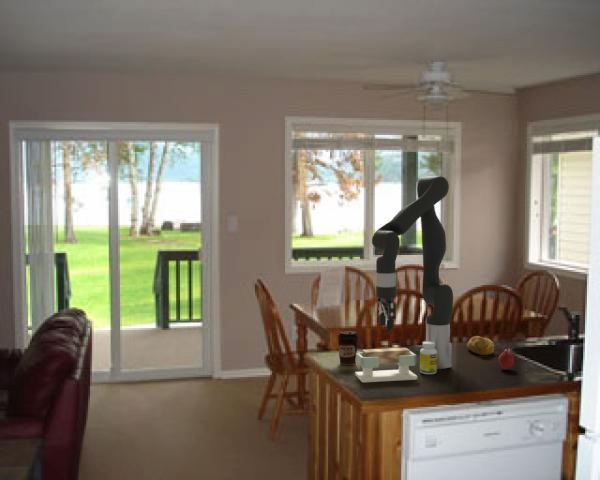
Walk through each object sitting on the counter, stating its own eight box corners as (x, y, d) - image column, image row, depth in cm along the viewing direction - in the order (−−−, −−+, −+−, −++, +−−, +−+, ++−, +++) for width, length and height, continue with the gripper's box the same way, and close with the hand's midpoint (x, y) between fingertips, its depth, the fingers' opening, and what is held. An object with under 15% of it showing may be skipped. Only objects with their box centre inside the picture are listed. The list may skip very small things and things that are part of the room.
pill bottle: (426, 375, 244) (427, 345, 244) (416, 371, 250) (416, 341, 249) (440, 373, 247) (440, 343, 247) (429, 369, 253) (430, 340, 252)
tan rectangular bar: (405, 359, 246) (405, 347, 245) (409, 362, 242) (409, 350, 241) (362, 361, 243) (362, 349, 242) (365, 364, 239) (365, 352, 238)
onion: (514, 368, 254) (514, 348, 253) (512, 372, 249) (513, 351, 248) (499, 367, 256) (499, 347, 256) (497, 370, 251) (497, 350, 250)
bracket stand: (407, 372, 249) (408, 349, 249) (417, 379, 240) (417, 355, 239) (354, 375, 246) (355, 352, 245) (362, 382, 236) (362, 358, 235)
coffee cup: (357, 367, 256) (357, 334, 256) (336, 366, 258) (336, 334, 257) (359, 361, 265) (359, 330, 264) (339, 360, 267) (339, 329, 266)
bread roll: (461, 350, 285) (462, 332, 284) (480, 348, 288) (480, 330, 288) (479, 357, 273) (479, 338, 272) (498, 355, 276) (499, 336, 275)
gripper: (402, 287, 234) (402, 331, 235) (389, 281, 248) (389, 323, 249) (382, 287, 232) (382, 332, 234) (370, 282, 246) (371, 324, 248)
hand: (386, 327), depth 241 cm, fingers open, 8 cm apart
